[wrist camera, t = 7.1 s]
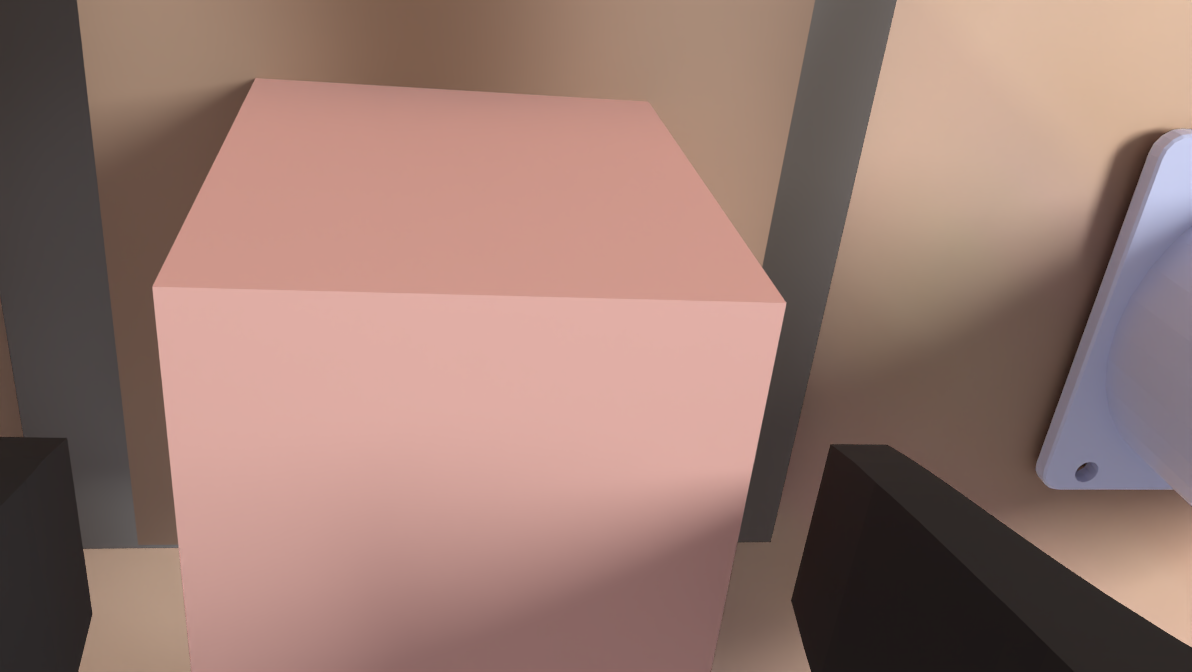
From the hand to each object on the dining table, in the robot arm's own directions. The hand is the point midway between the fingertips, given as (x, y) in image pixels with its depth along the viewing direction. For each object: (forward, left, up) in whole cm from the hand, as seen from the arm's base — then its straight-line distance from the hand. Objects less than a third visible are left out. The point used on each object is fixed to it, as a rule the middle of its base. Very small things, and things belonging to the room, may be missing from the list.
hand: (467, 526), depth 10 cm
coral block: (0, 0, -5) cm, 5 cm away
